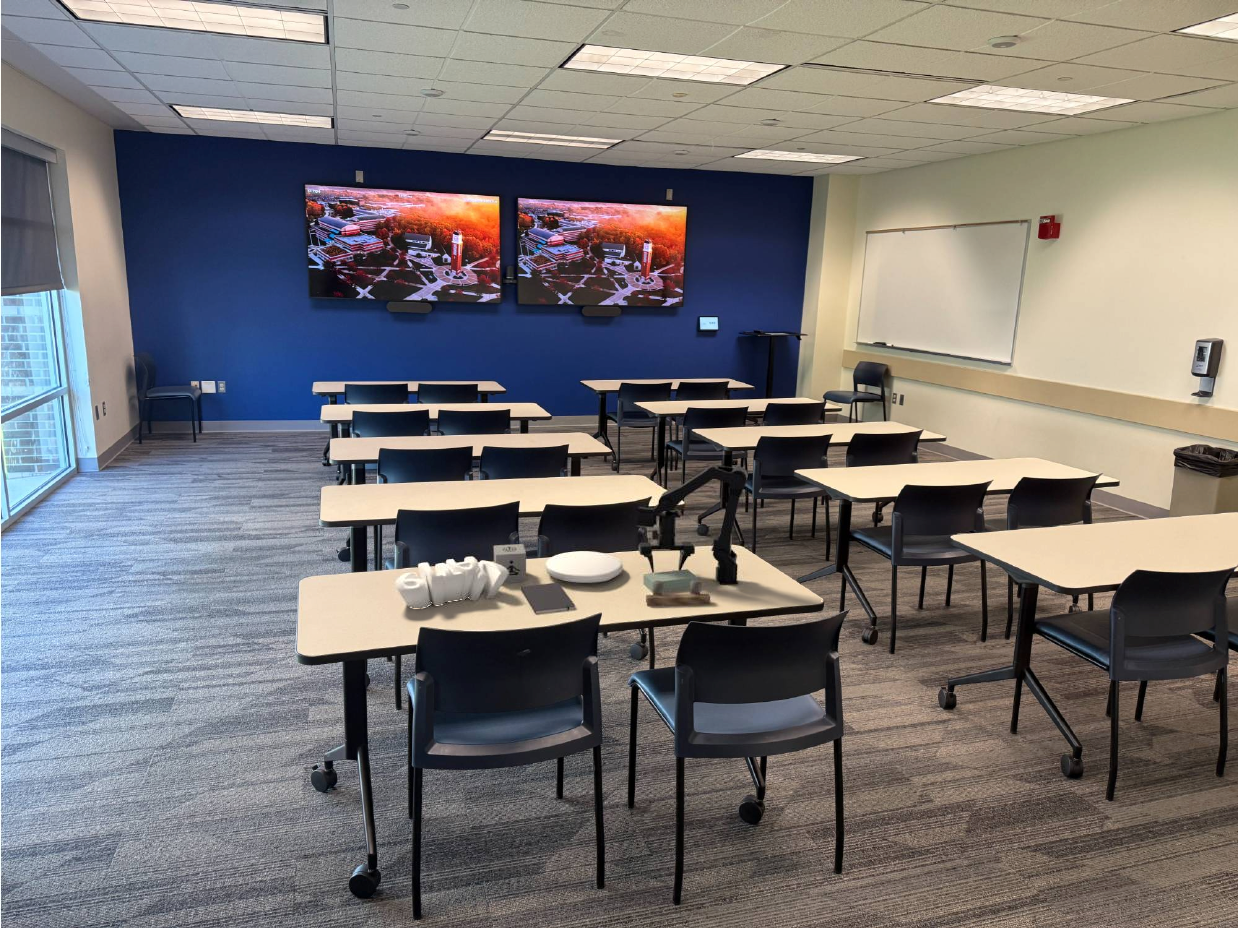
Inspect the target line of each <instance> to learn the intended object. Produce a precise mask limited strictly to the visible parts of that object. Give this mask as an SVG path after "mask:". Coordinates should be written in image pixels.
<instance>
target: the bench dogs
mask: <svg viewBox="0 0 1238 928" xmlns="http://www.w3.org/2000/svg"><path fill="white" fill-rule="evenodd" d="M701 583H702V582H701V580H698V579H697V580H692V581H691V584H690V588H689V589H690V591H689V593H677V594H675V593H672V594H671V593H670V594H668V593H667V594H664V592H663V582H662V581H654V582H653V593H652V594H646V595H645V604H646V603H647V604H646V606H647V607H649V606H648V605H651V606H650V607H654V606H655V607H657V606H659V605H660V606H686V605H687V606H689V605H692V606H693V605H696V604H697V605H710V604H711V595H710V593H701ZM697 605H696V606H697ZM660 606H659V607H660Z"/></svg>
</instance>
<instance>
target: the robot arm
mask: <svg viewBox="0 0 1238 928" xmlns="http://www.w3.org/2000/svg"><path fill="white" fill-rule="evenodd" d="M712 480H717V481H719V482H723V483H726V484H728V498H727V502H726V507H725V512H724V516H723V520H722V525H721V530H720V533H719V535H717V534H715V535H714V538H713V543H712V547H711V550H710V551H711V552H712V556H713V558H714V559H715V561H717V566H716V567H715V579H716V581H717V583H718V584H719V585H738V584H739V581H738V569H739V567H738V566H739V565H738V563H737V559H738V554H737V553H736V552H735V551H734V550H733V549H732V542H733V540H732V537H733V536H732V534H733V533H732V532H733V529H734V528H733V527H734V524H735V520H736V515H737V510H738V505H739V501H740V497H741V495H742V493H743V490H744V488H745V485H746V484H747V480H748V471H747V470H746V468H745V467H742V466H735V467H731V466H723V465H722V466H720V465H716V464H711V465H709V466H708V467H707V468H706V469H705V470H703V471H701V472H700V473H698V474H697V475H695V476H694V477H692V478H691V479H688V480H687V481H686V482H685V483H682V484H681V485H679V486H677V487H673V488H671V489H669V490H666V491H664V492H663V493H662V494H661V495H660V497H659V499H658V503H657V504H656V505H655V506H654V507H644V506H639V507H638V510H637V516H636V527H638V528H639V527H640V528H649V529H651V528H653V529H654V528H655V526H658V530H651V540H652V541H656V543H657V544H656V545H652V543H651V542H639V544H638V552H639V555H640V556H643V557H644V558H646V559H647V560H648V562H649V563H648V564H649V566H650V570H651V573H655V571H654V570H655V568H654V555H653V552H668V551H669V552H675V551H678V552H679V559H678V568H677V570H683V566H684V564H685V563H686V561H687V560H688V557H691V556H692V555H695V554H696V552H695V551H696V550H695V549H696V548H695V545H694V543H693V542H692V541H681V542H680V544H676V526H677V525H676V524H677V523H676V522H677V521H676V520H677V518H681V517H682V515H683V514H682V513H681V512H680V511H679V509H678V508H676V507H677V506H678V505H679V504H680V503H681V502H682V501H683V500H684V499H685V498H686V497H687V496H689V495H690V494H693V492H695V491H697V490H698V489H700V488H701V487H703V486H704V485H706V484H707V483H709V482H710V481H712ZM675 508H676V509H675ZM674 509H675V510H674Z"/></svg>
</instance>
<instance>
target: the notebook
mask: <svg viewBox="0 0 1238 928" xmlns="http://www.w3.org/2000/svg"><path fill="white" fill-rule="evenodd" d="M520 591H521V593H522V595H523V597H525V599H526V601H527V603H528V604H529V606H530V607H531V609H532V611H533V612H534V614H535V615H537V614H545V613H547V614H548V613H554V612H563V611H570V610H571V611H572V610H574V609H575V607H576V605H575V603H574V602H573V600H572V599H571V598H570V596H569V595H568V594H567V593H566V591H565V589H564V588H563V587H562V586H561V584H559V582H550V583H541V584H532V585H525V586H520Z"/></svg>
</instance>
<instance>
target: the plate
mask: <svg viewBox="0 0 1238 928" xmlns="http://www.w3.org/2000/svg"><path fill="white" fill-rule="evenodd" d="M544 567H545V571H546V573H547V574H548V575H549V576H551V577H553V578H555V579H558V580H560V581H565V582H572V583H580V584H582V583H583V584H584V583H585V584H587V583H588V584H594V583H603V582H607V581H609V580H612V579H613V578H615V577H617V576H618V575H620V574H621V573H622V571H623V568H624V566H623V562H622V560H620V559H619V558H618V557H616V556H613V555H611V554H607V553H603V552H598V551H586V550H584V551H583V550H582V551H581V550H579V551H571V552H563V553H559V554H555V555H554V556H552V557H550V558H549V559H548V560H547V561H546V562H545V565H544Z"/></svg>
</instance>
